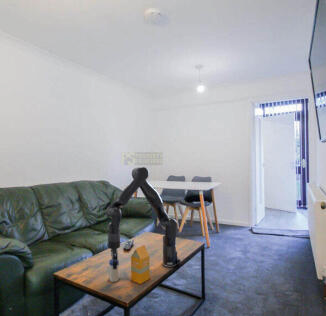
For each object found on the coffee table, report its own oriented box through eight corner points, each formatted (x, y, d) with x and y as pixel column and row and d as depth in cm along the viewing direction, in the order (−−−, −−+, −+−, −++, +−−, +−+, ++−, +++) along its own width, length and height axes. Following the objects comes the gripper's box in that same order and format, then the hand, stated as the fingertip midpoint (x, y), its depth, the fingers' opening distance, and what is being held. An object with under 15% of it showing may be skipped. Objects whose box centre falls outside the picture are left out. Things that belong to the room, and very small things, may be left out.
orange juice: (131, 280, 151) (130, 247, 151) (140, 275, 157) (139, 243, 158) (140, 284, 146) (140, 250, 146) (149, 278, 152) (149, 246, 153)
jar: (116, 277, 155) (116, 260, 155) (119, 280, 150) (119, 263, 150) (108, 278, 153) (108, 261, 153) (111, 282, 148) (110, 265, 148)
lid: (108, 265, 148) (108, 262, 148) (109, 261, 154) (109, 258, 154) (118, 266, 148) (118, 262, 148) (118, 261, 154) (119, 258, 154)
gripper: (121, 242, 145) (122, 271, 145) (118, 235, 159) (118, 261, 159) (109, 243, 144) (109, 272, 143) (107, 236, 158) (107, 262, 157)
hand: (114, 266), depth 151 cm, fingers closed on lid, 5 cm apart
